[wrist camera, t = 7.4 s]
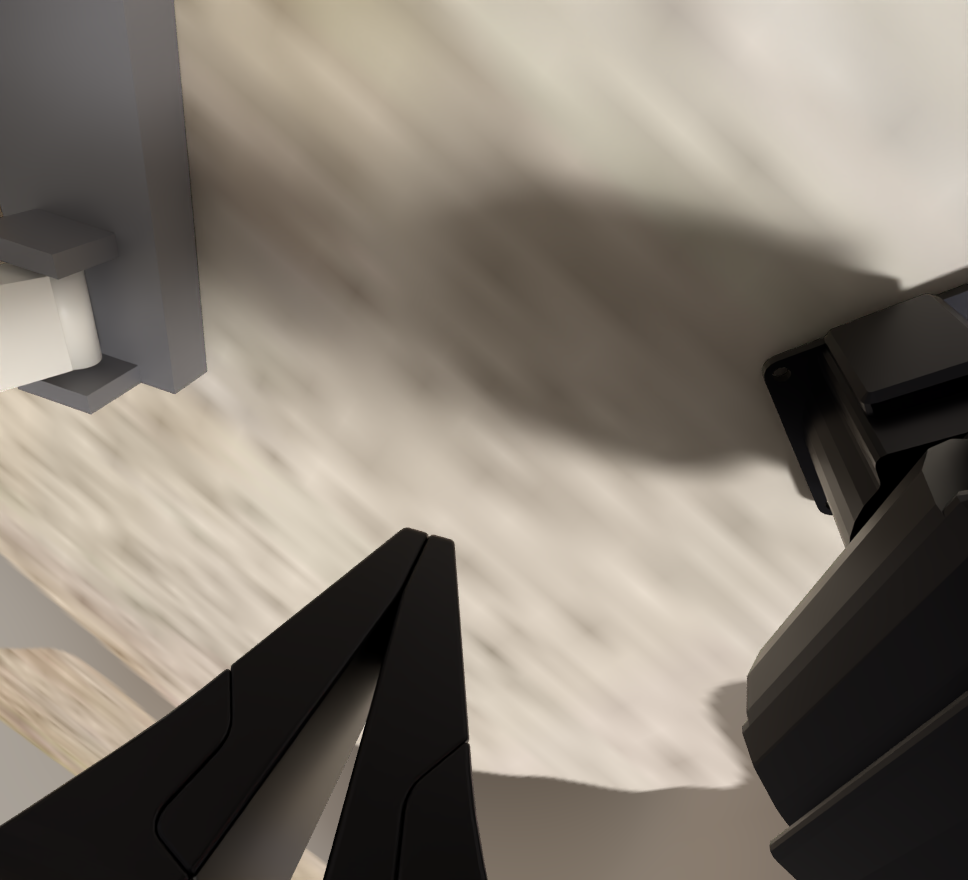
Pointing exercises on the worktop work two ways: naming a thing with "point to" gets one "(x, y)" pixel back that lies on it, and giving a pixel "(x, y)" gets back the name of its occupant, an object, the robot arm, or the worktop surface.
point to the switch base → (103, 184)
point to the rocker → (44, 326)
